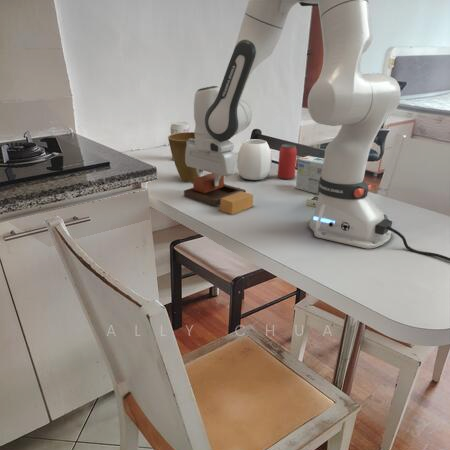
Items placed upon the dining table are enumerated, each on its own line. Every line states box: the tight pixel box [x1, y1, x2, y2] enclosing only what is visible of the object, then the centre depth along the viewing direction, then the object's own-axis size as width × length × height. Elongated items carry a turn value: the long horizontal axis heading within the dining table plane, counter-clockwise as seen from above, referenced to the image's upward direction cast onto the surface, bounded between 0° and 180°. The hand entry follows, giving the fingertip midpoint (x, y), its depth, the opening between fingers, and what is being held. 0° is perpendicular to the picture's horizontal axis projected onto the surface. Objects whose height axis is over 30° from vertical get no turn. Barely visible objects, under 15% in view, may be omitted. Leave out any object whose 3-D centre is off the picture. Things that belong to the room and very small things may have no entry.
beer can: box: [277, 143, 298, 180], centre depth 158 cm, size 7×7×12 cm
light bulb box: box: [295, 155, 324, 195], centre depth 145 cm, size 11×7×11 cm, turn 47°
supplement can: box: [169, 121, 191, 159], centre depth 181 cm, size 8×8×15 cm
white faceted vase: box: [236, 138, 273, 181], centre depth 157 cm, size 13×13×14 cm
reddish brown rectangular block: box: [192, 172, 225, 193], centre depth 141 cm, size 5×10×4 cm, turn 137°
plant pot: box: [167, 131, 204, 183], centre depth 154 cm, size 15×15×16 cm
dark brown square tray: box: [183, 183, 247, 208], centre depth 141 cm, size 15×15×2 cm
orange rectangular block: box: [220, 191, 254, 215], centre depth 130 cm, size 5×10×4 cm, turn 137°
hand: (208, 183), depth 141 cm, fingers closed on reddish brown rectangular block, 5 cm apart
